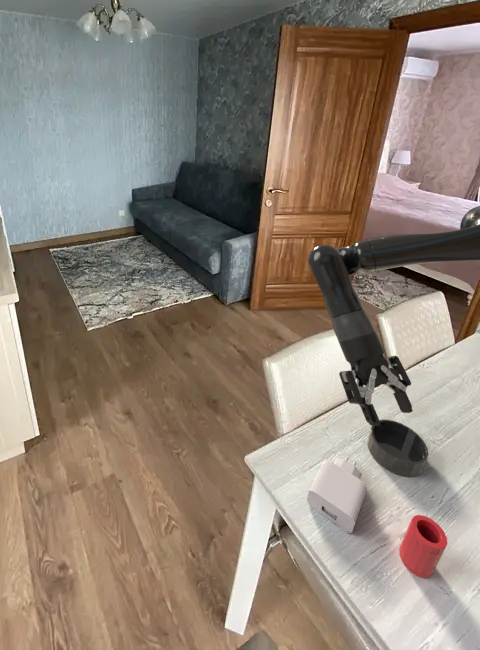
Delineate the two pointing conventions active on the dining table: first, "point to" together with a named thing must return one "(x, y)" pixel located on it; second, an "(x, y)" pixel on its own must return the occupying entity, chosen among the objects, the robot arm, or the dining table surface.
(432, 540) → the red cup
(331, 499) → the charger
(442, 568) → the dining table surface
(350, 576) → the dining table surface
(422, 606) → the dining table surface
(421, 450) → the pan
